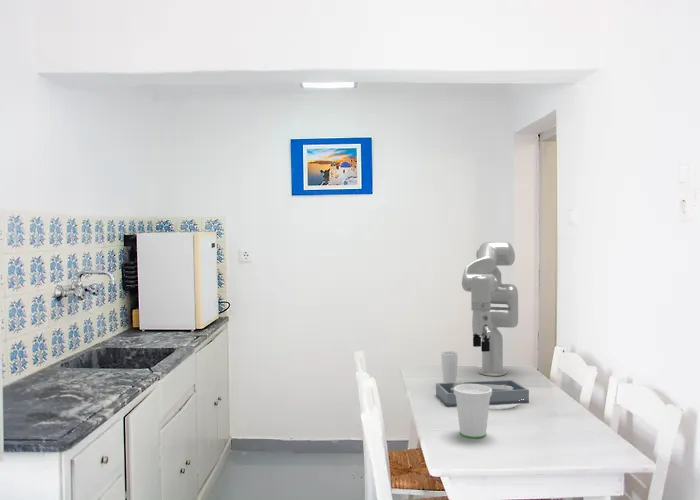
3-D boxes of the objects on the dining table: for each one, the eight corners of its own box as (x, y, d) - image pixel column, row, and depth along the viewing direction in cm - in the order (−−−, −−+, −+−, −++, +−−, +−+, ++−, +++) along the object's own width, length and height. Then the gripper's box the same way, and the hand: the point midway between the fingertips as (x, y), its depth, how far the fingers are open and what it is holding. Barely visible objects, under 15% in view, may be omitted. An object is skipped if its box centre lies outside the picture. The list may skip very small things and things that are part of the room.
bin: (436, 395, 242) (435, 383, 242) (512, 391, 246) (512, 379, 246) (447, 406, 226) (447, 393, 226) (528, 402, 231) (528, 389, 230)
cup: (484, 443, 187) (484, 395, 187) (448, 436, 194) (447, 390, 193) (497, 431, 198) (497, 386, 197) (462, 425, 204) (461, 382, 204)
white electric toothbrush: (515, 387, 234) (453, 380, 233) (513, 404, 234) (451, 397, 233) (511, 384, 239) (450, 377, 238) (508, 400, 239) (448, 393, 238)
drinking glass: (440, 388, 253) (440, 353, 253) (443, 384, 260) (443, 350, 259) (455, 389, 251) (455, 354, 250) (459, 385, 257) (458, 351, 257)
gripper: (498, 309, 227) (498, 352, 228) (482, 303, 244) (482, 344, 245) (479, 309, 226) (479, 353, 227) (465, 304, 243) (465, 345, 244)
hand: (481, 348), depth 236 cm, fingers open, 9 cm apart
